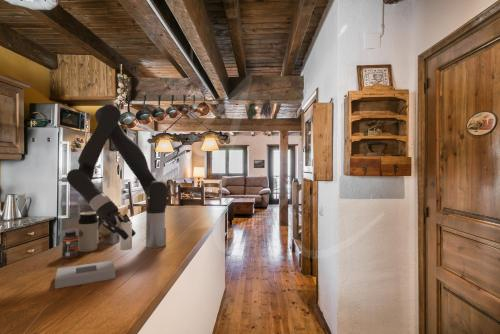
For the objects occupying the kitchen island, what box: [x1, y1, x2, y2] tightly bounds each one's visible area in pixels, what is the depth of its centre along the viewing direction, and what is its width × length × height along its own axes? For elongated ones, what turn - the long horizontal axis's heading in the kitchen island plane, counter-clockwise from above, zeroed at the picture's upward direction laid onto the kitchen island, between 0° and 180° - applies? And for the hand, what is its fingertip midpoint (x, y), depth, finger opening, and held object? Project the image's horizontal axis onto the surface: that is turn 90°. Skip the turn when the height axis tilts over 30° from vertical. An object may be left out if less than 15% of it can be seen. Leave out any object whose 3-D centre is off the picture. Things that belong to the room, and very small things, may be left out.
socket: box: [54, 260, 116, 290], centre depth 103 cm, size 18×12×3 cm, turn 121°
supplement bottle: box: [61, 230, 79, 259], centre depth 127 cm, size 6×6×11 cm
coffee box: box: [97, 211, 121, 245], centre depth 152 cm, size 9×6×16 cm
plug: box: [119, 216, 133, 251], centre depth 117 cm, size 4×4×13 cm
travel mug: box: [78, 211, 99, 253], centre depth 137 cm, size 8×8×18 cm
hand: (130, 236), depth 117 cm, fingers closed on plug, 4 cm apart
